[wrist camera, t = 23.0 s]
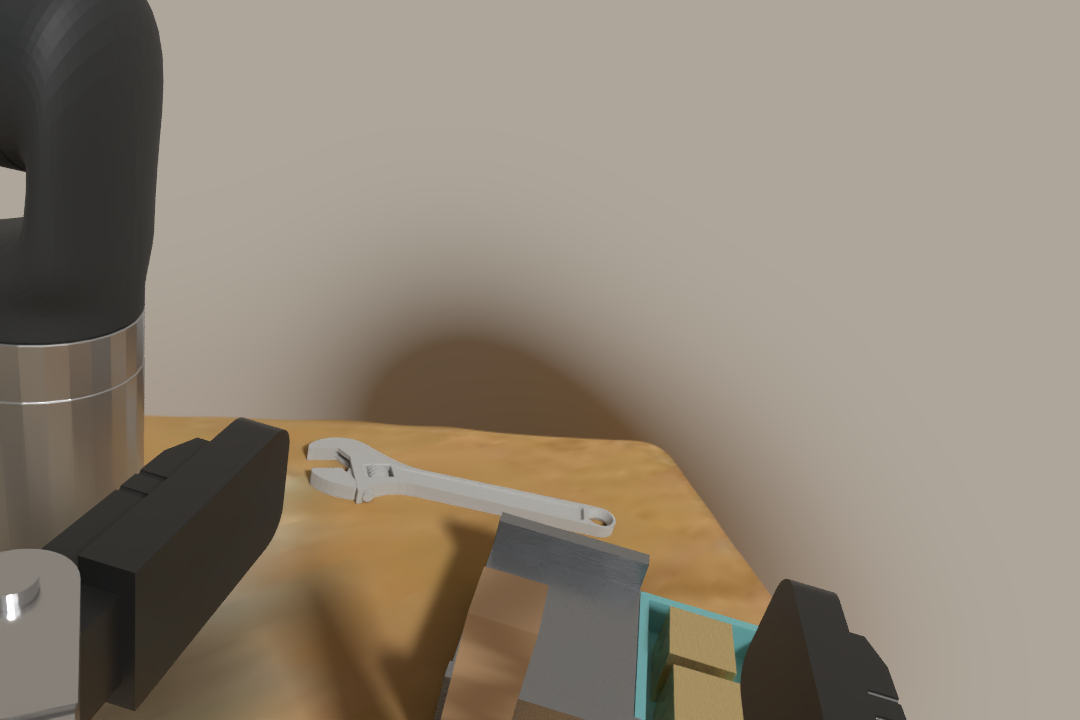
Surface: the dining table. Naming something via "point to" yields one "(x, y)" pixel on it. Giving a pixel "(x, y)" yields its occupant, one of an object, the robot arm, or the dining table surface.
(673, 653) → the brass block
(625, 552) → the rail channel
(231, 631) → the dining table surface
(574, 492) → the dining table surface
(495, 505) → the adjustable wrench
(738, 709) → the brass block
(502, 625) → the wooden post on base
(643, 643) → the tray
